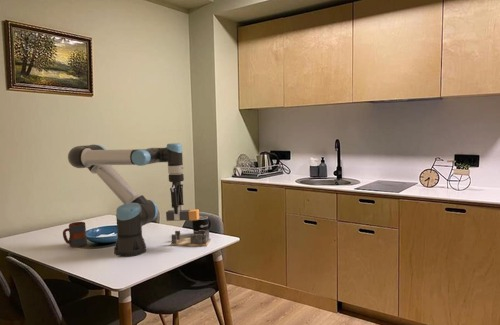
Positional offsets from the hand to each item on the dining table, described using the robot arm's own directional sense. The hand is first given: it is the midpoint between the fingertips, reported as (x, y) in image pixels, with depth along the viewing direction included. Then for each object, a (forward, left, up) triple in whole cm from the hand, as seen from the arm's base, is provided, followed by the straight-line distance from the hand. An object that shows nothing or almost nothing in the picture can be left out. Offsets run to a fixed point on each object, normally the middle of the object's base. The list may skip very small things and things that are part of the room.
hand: (178, 218), depth 193 cm
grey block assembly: (+5, +5, -14) cm, 16 cm away
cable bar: (+2, 0, 0) cm, 2 cm away
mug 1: (-55, -2, -15) cm, 57 cm away
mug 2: (+8, +21, -15) cm, 27 cm away
